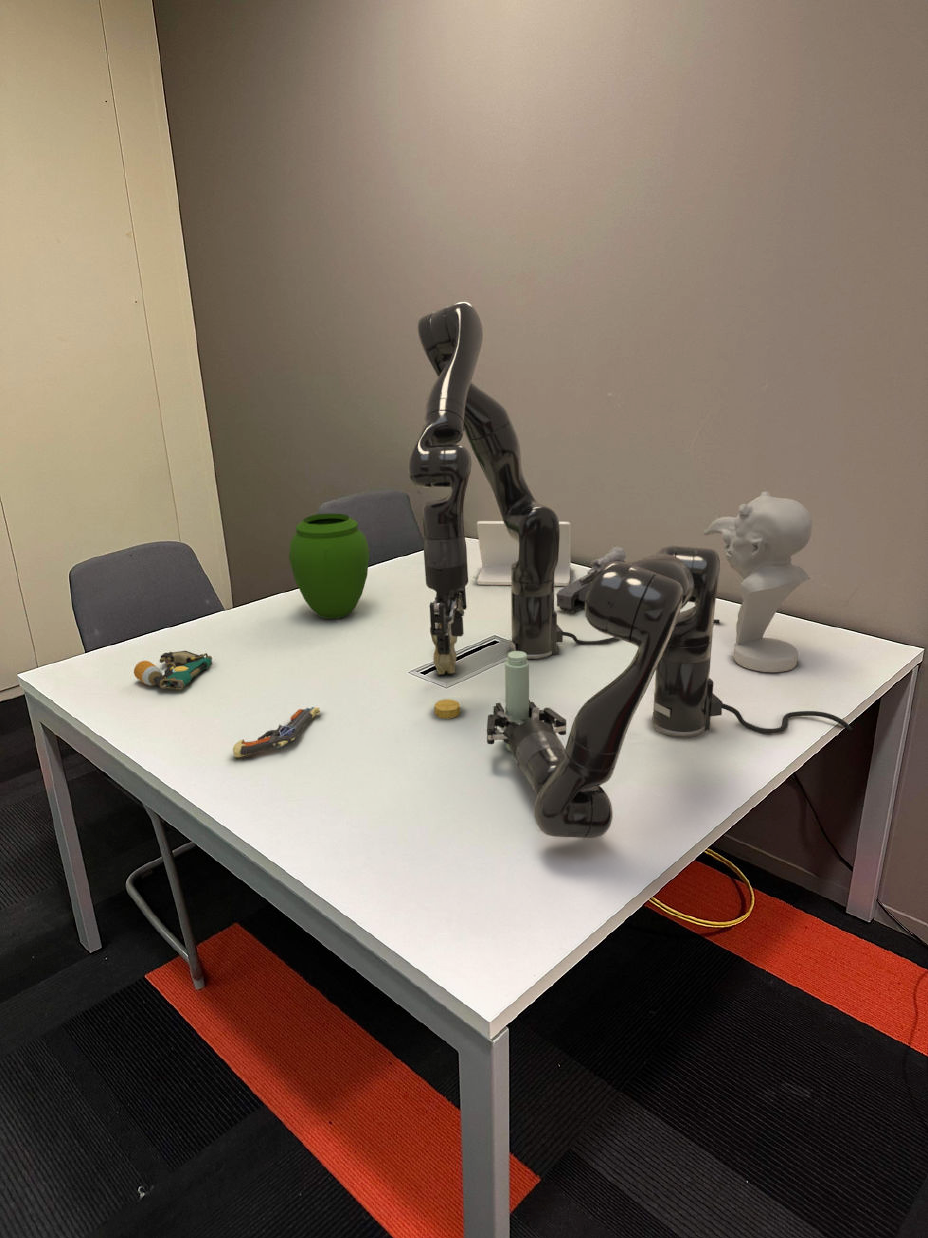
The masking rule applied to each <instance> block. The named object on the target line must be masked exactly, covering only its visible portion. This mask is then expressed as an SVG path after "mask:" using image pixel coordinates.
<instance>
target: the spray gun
mask: <svg viewBox="0 0 928 1238" xmlns="http://www.w3.org/2000/svg"><path fill="white" fill-rule="evenodd" d="M212 660H213V657H212V656H211V655H208V653H207V652H205V653H201V654H197V653H194V652H192V651H191V652H190V651H188V650H180V651H169V652H164V653H162V654H161V655H160V658H159V660H158V662H159V663H161V664H163V663H165V664H166V668H165V670H163V672H164V674H163V673H162V669H160V668H159V666H157V665H156V664H154V663H152V662H151V661H149V660H141V661H139V662H138V663H136V665H135V666H134V668H133V675H134V677H135V678H136V679H137V680H139V681H140V682H142V683H143V684H145V685H147V686H155V685H157V686H158V687H160V688H161V689H171V690H172V689H173V690H182V689H184V687H185V686H186V685H188V684H189V683H190V682H191V681H192V679H193V678H195V677H196V676H197V675H198V674H200V673H201V672H202V671H203V670H206V669H208V668H209V667H210V666H211V665H212V662H213V661H212ZM178 663H179V664H181V665H179V666H176V665H177V664H178Z"/></svg>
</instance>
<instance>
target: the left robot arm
mask: <svg viewBox="0 0 928 1238" xmlns="http://www.w3.org/2000/svg"><path fill="white" fill-rule="evenodd" d="M417 335H418V339H419V341H420V345H421V347H422V350H423V352H424V354H425V356H426V358H427V359H428V362H429V363H430V366H431V367H432V369H433V370H434V372H435V375H436V376H437V379H436V380H435V381H434V383H433V385H432V387H431V389H430V391H429V393H428V396H427V398H426V403H425V411H424V420H423V426H422V429H421V431H420V434H419V436H418V438H417V439H416V443H415V444H414V446H413V448H412V450H411V452H410V455H409V458H408V464H407V472H408V473H407V474H408V476H409V478H410V481H411V482H412V483H413V484H414V485H415V486H416V487H419V488H423V489H432V488H434V489H435V488H436V489H437V488H450V493H449V494H448V495H447V496H444V497H441V498H437V499H432V500H430V501H428V502H425V504H424V505H423V507H422V523H423V525H422V527H423V560H424V572H425V573H424V574H425V585H426V587H427V588H429V589H430V590H433V591H434V592H435V593H436V594H435V597H434V600H433V602H432V601H431V602H430V603H429V620H430V627H431V634H430V636H431V635H436V636H437V650H438V653H439V654H442V655H448V654H449V653H450V635H449V633H450V625H451V634H452V636H457V637H460V638H461V637H462V636H464V616H465V610H467V607H468V605H467V594H466V586H467V585H468V584H469V569H468V567H469V566H468V549H467V548H468V547H467V541H466V537H465V523H464V522H465V520H464V507H465V506H464V505H465V497H466V492H467V487H468V483H469V479H470V475H471V469H472V458H471V455H470V453H469V451H468V449H466V447H465V446H463V445H461V444H459V443H460V442H461V441H462V439H463V436H464V434H465V436H466V438H467V441H468V443H469V445H470V447H471V449H472V452H473V454H474V455H475V457H476V460H477V461H478V463H479V466H480V468H481V470H482V472H483V474H484V477H485V478H486V480H487V482H488V484H489V486H490V488H491V490H492V492H493V494H494V497H495V501H496V503H497V506H498V510H499V512H500V516H501V520H502V521H503V522H504V525H505V528H506V530H507V532H508V534H509V535H510V536H511V537H512V538H513V539H514V540H515V541H517V542H519V557H518V561H516V562H514V563H513V564H512V566H511V585H510V588H511V589H510V597H511V599H510V603H511V604H510V606H511V607H510V609H511V610H510V615H511V617H510V618H511V621H510V622H511V639H510V638H509V640H508V641H509V646H510V652H512V651H522V652H524V653H526V655H527V658H526V660H540V659H545V658H548V657H550V656H552V655H557V654H558V653H557V650H558V649H557V648H558V647H557V645H558V644H559V643H563V642H564V637H569V638H571V639H572V640H573V642H574V643H575V644H577V645H582V646H583V645H584V646H585V645H588V646H589V645H591V646H593V645H602V644H607V643H612V642H615V641H619V639H618V638H616V637H613V636H611V637H608V638H605V639H604V638H603V639H600V640H599V639H598V640H591V641H589V640H586V641H585V640H581V639H578V637H577V636H576V635H575V634H573V633H571V632H569V631H564V630H563V629H562V628H561V627H560V626H559V625H558V613H557V612H556V611H555V586H554V572H555V569H556V566H557V563H558V556H559V539H560V526H559V522H560V520H559V518H558V515H557V513H556V512H555V510H553V509H552V508H550V507H548V506H546V505H544V504H542V503H540V502H538V501H537V500H536V499H535V496H534V495H533V493H532V492H531V490H530V488H529V486H528V483H527V481H526V479H525V477H524V472H523V468H522V456H521V445H520V441H519V438H518V434H517V432H516V430H515V427H514V425H513V423H512V421H511V418H510V416H509V413H508V411H507V410H506V408H505V407H504V406H503V405H502V404H501V403H500V402H499V401H497V400H496V399H495V398H493V397H492V396H491V395H490V394H488V393H487V392H485V391H484V390H482V389H481V388H479V387H478V386H477V385H476V384H474V383H473V382H472V380H473V376H474V373H475V370H476V367H477V363H478V360H479V356H480V352H481V348H482V346H483V345H482V344H483V337H484V333H483V324H482V322H481V318H480V316H479V314H478V311H477V310H476V309H475V307H474V306H473V305H472V304H471V303H470V302H468V301H459V302H457V303H453V304H450V305H448V306H445V307H442V308H440V309H437V310H435V311H432V312H430V313H427V314H426V315H423V316H421V318H419V319H418V322H417ZM446 616H449V617H446ZM440 623H441V628H439V627H440ZM713 624H720V619H715V618H714V622H713Z"/></svg>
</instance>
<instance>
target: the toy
mask: <svg viewBox="0 0 928 1238" xmlns="http://www.w3.org/2000/svg"><path fill="white" fill-rule="evenodd" d="M626 557H627V556H626V551H625V549H624V548H622V547H621V546H614V547H612V548H611V549H610V550H609V552H608V553H607V554H605V555H604V556H601V557H599V558H598V559H597V557H596V558H594V559H593V560H592V561H590V562H589V563H590V564H591V565H592V567H591V568H590V569H589V570H587V573H586V575H584V576H582V577H580V578H578V579H577V580H575V581H573V582H570V583H569V585H567V586H563V587H562V588H560V589H559V590H558V591H557V592H556V607H558V608H559V609H560V610H562V611H566V612H572V613H575V612H577V611H579V610H581V609H582V608H585V599H586V595H587V592H588V589H589V587H590V585H591V583H592V581H593V579H594V578H595V577H596V575H597V574H598V573H599V572H600V570H602V569H603V568H604V567H605V566H606V565H608V564H609V563H611V562H615V561H620V562H626V561H625V559H626Z"/></svg>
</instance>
